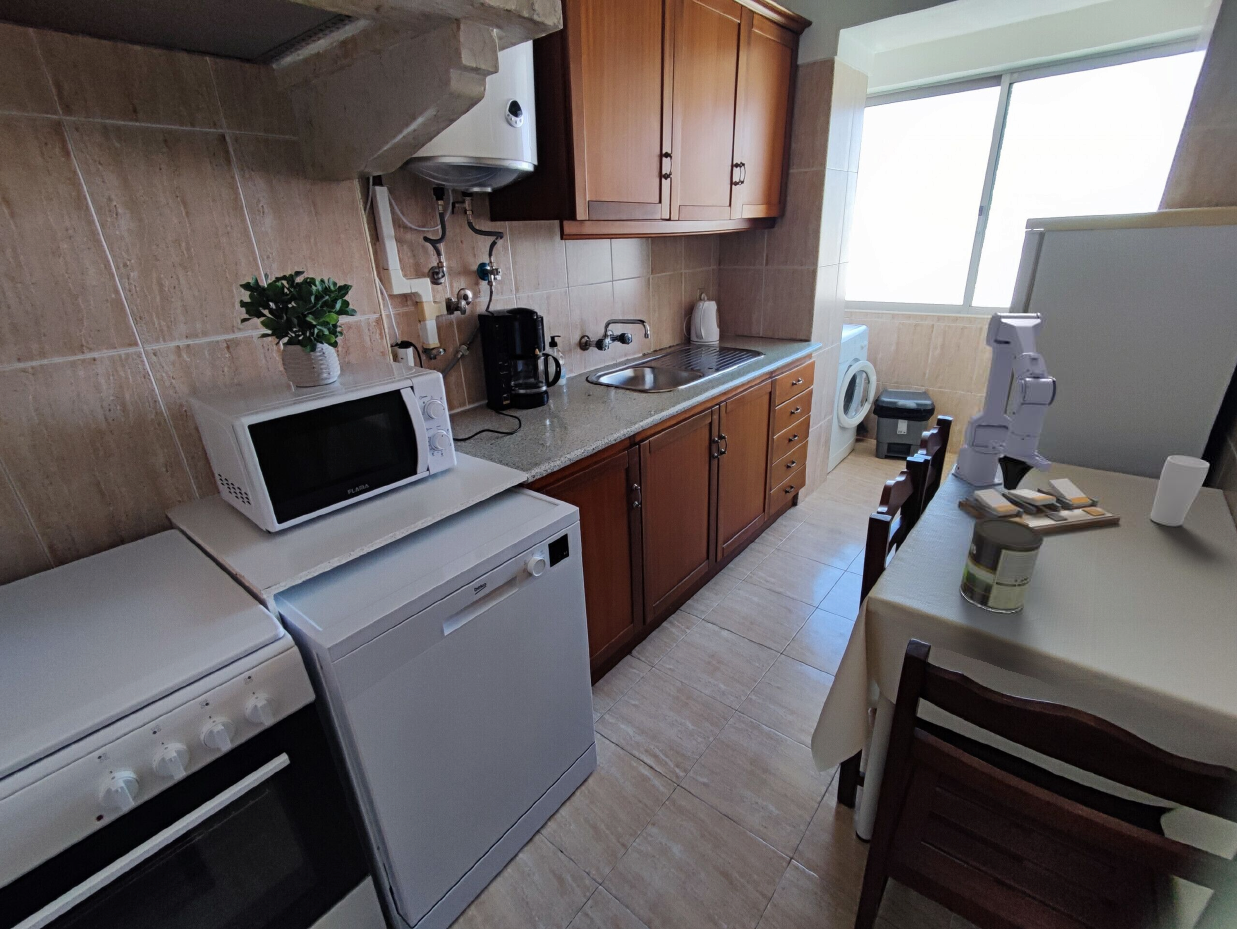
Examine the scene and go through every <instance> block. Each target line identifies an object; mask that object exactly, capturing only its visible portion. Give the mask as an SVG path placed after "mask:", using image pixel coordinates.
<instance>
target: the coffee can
mask: <svg viewBox="0 0 1237 929" xmlns="http://www.w3.org/2000/svg"><path fill="white" fill-rule="evenodd" d="M1043 542H1044V537H1043V534H1040V533H1039V532H1038V531H1037V530H1035V529H1034V528H1032V527H1030V526H1028V525H1025V524H1023V523H1020V522H1017V521H1013V520H1008V519H1002V518H985V519H978V520H977V521H975V522H974V525H973V532H972V536H971V541H970V545H969V549H968V554H967V557H966V562H965V564H964V570H963V574H962V578H961V583H960V586H959V588H960V590H961V592H962V593H963V594H964V596H965V597H966V598H967V599H968V600H970V601H972V602H973V603H974V604H976V605H980V606H981V607H984V608H986V609H991V610H995V611H1005V612H1012V611H1017V610H1020V609H1021V608H1022V609H1023V608H1024V603H1025V600H1026V596H1027V593H1028V590H1029V589H1028V588H1029V586H1030V582H1031V579H1032V576H1033V572H1034V569H1035V565H1036V563H1037V560H1038V555H1039V552H1040V548H1041V546H1042V545H1043ZM960 590H959V591H960ZM1022 609H1021V610H1022ZM1021 610H1020V611H1021Z"/></svg>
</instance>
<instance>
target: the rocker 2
mask: <svg viewBox="0 0 1237 929" xmlns="http://www.w3.org/2000/svg"><path fill="white" fill-rule="evenodd" d="M1046 485H1047V486H1048V487H1049V489H1052V490H1053V491H1054V492H1055V493H1056V494H1057V495H1058V496H1059V497H1061V498H1063V499H1065V500H1067V501H1070V502H1072V503H1074V506H1073V508H1075V507H1082V506H1089V505H1090V504H1091V503H1092V501H1090V500H1089V499H1088V498H1087V497H1086V496H1085V495H1086V494H1085V493H1083V492H1082V491H1081V490H1080V489H1079V488H1078V487H1077V486H1076V485H1075V484H1074V483H1072V482H1071V481H1070V480H1069V479H1068V478H1067V477H1066V478H1059V479H1049V480H1048V481H1047V482H1046ZM1084 494H1085V495H1084Z"/></svg>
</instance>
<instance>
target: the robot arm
mask: <svg viewBox="0 0 1237 929" xmlns="http://www.w3.org/2000/svg"><path fill="white" fill-rule="evenodd" d="M1043 326H1044V316H1042V314H1041V313H1040V312H1036V313H1035V312H1033V313H1027V312H1026V313H1025V312H1024V313H1017V312H1015V313H1012V312H1011V313H1009V312H1008V313H1005V312H1004V313H1003V312H1002V313H1001V312H994V314H993V315H991V318H990V320H989V321H988V327H987V331H986V332H987V333H986V338H985V342H986V343H985V345H986V346H988V347H990V348H992V351H991V352H992V353H991V356H992V357H991V360H990V361H991V362H990V367H989V368H990V369H989V373H988V378H987V379H988V380H987V383H986V384H987V385H986V389H985V391H986V392H985V396H984V402H983V406H982V411H980V412H978V413H977V414H975V415H973V416H971V417H969V419H968V422H967V426H966V427H965V431H964V439H963V441H964V444H963V445H962V446H961V447H960V448H959V450H958V453H957V457H956V463H955V466H956V467H954V470H952V471H953V473H952V472H951V474H953V475H954V476H956V477H958V478H960V479H961V480H964V481H965V482H967V483H969V484H971V485H972V486H974V487H984V486H992V485H999V484H1003V489H1005V490H1006V491H1015V490H1017V488H1018V487H1019V485H1020V484H1021V482H1022V481H1023V479H1024V477H1025V476H1026V475H1027V474H1029V472H1030V471H1031V470H1032V469H1034V468H1035V469H1037V471H1038V472H1040V473H1044V472H1050V471H1051V467H1052V464H1053V463H1052V462H1051V461H1049V460H1048V459H1045V458H1044V457H1043V456H1041V455H1040V454H1039V453H1038V449H1037V448H1038V443H1039V440H1040V436H1041V434H1042V429H1043V425H1044V422H1045V417H1046V415H1047V410H1048V406H1049V407H1050V406H1052V405H1053V404H1054V403H1055V400H1056V397H1057V394H1058V384H1057V379H1056V378H1054V377H1053V376H1052V375H1049V373H1048V371H1047V367H1046V363H1045V358H1044V357H1043V355H1041V353H1038V352H1037V347H1036V346H1037V344H1036V341H1037V339H1038V338H1039V336H1040V335H1041V333H1042V330H1043ZM1012 374H1013V376H1014V381H1015V383H1014V384H1015V385H1014V387H1013V393H1012V404H1011V410H1012V413H1011V414H1012V415H1011V417H1008V415H1006V413H1005V410H1006V407H1007V406H1006V405H1007V400H1008V396H1009V395H1008V394H1009V389H1010V385H1011V380H1012ZM1002 454H1003V456H1002V457H1001V455H1002ZM956 464H957V465H956ZM999 466H1000V470H1001V474H1002V480H1000V479H998V478H997V477H996V476H997V472H998V468H999Z"/></svg>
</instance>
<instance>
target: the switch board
mask: <svg viewBox="0 0 1237 929" xmlns="http://www.w3.org/2000/svg"><path fill="white" fill-rule="evenodd" d="M1028 490H1030V489H1028ZM1034 491H1035V492H1038V493H1041V494H1045V495H1049V496H1053V497H1055V498H1056V503H1050V504H1042V505H1035V504H1031V503H1028V502H1025V501H1022V500H1019V499H1017V498H1015V497H1013V496H1011V495H1009V494H1008V492H1001V494H1000V495H1001V496H1002V497H1004V498H1005V499H1006V500H1007V501H1008V502H1010V503H1011V504H1012V505H1013V506H1014V507H1015V508H1017V509H1018V511H1017V513H1016V514H1011V515H1004V516H998V513H996V512H994V511H992V510H991V509H989V508H987V507H986V506H985V505H984V504H982V503H981V502H980V501H979V500H978V499H977V498H971V497H969V496H967V497H965V499H961V500H958V504H957V507H958V506H959V507H958V508H960V507H961V508H960V509H961V510H963V509H964V510H963V511H965V512H966V511H967V512H966V513H968V512H969V513H968V514H970V515H971V514H972V516H973V517H975V518H977V519H978V518H979V519H978V520H980V519H985V518H1002V519H1008V520H1013V521H1017V522H1020V523H1023V524H1025V525H1028V526H1030V527H1032V528H1034V529H1035V530H1037V531H1038V532H1039V533H1040V534H1041V535H1044V534H1051V533H1058V532H1064V531H1065V532H1066V531H1072V530H1078V529H1087V528H1092V527H1093V528H1094V527H1099V526H1108V525H1114V524H1119V523H1120V521H1121V516H1119V515H1117V514H1115V513H1113V512H1111V511H1109V510H1106V509H1104V508H1103V507H1100V506H1098V503H1099V500H1098V499H1096V498H1094V497H1092V496H1090V495H1087V494H1085V493H1083V494H1084V495H1085V496H1086V497H1087V498H1088V499H1089V500H1090V501H1092V503H1091V504H1090V505H1089V506H1082V507H1075V508H1073V506H1074V503H1072V502H1070V501H1067V500H1065V499H1063V498H1061V497H1059V496H1058V495H1057V494H1056V493H1055V492H1054V491H1053V490H1052V489H1051V488H1048V489H1045V488H1042V487H1038V488H1037V490H1034Z"/></svg>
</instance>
